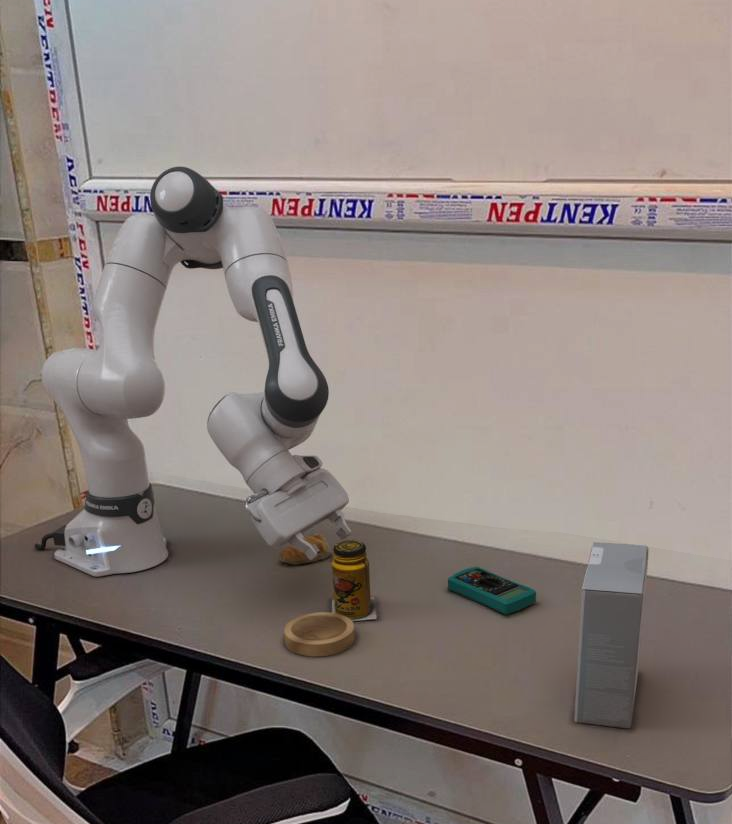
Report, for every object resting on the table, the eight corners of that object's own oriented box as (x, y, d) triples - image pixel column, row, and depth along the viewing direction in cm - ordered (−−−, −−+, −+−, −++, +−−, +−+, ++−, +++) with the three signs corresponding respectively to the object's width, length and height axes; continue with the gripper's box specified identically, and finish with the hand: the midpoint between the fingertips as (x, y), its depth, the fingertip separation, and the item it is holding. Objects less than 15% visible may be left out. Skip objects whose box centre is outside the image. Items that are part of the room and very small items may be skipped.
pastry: (293, 570, 177) (291, 551, 176) (272, 560, 182) (271, 541, 180) (334, 556, 182) (332, 537, 181) (313, 547, 187) (311, 528, 186)
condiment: (331, 622, 158) (327, 554, 152) (331, 600, 165) (328, 534, 160) (376, 620, 158) (374, 552, 152) (374, 598, 165) (372, 532, 160)
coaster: (270, 646, 151) (269, 634, 150) (311, 618, 159) (310, 606, 158) (329, 663, 146) (328, 650, 145) (367, 633, 154) (367, 620, 153)
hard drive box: (584, 667, 142) (593, 540, 133) (638, 673, 140) (651, 544, 131) (572, 723, 128) (581, 586, 120) (632, 730, 126) (645, 592, 117)
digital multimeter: (474, 577, 171) (475, 562, 170) (537, 604, 161) (538, 588, 160) (444, 590, 167) (444, 574, 166) (507, 617, 157) (507, 601, 156)
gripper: (250, 489, 150) (306, 558, 149) (323, 453, 165) (374, 515, 165) (230, 512, 154) (285, 579, 154) (303, 474, 169) (353, 536, 169)
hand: (332, 546), depth 159 cm, fingers open, 8 cm apart
